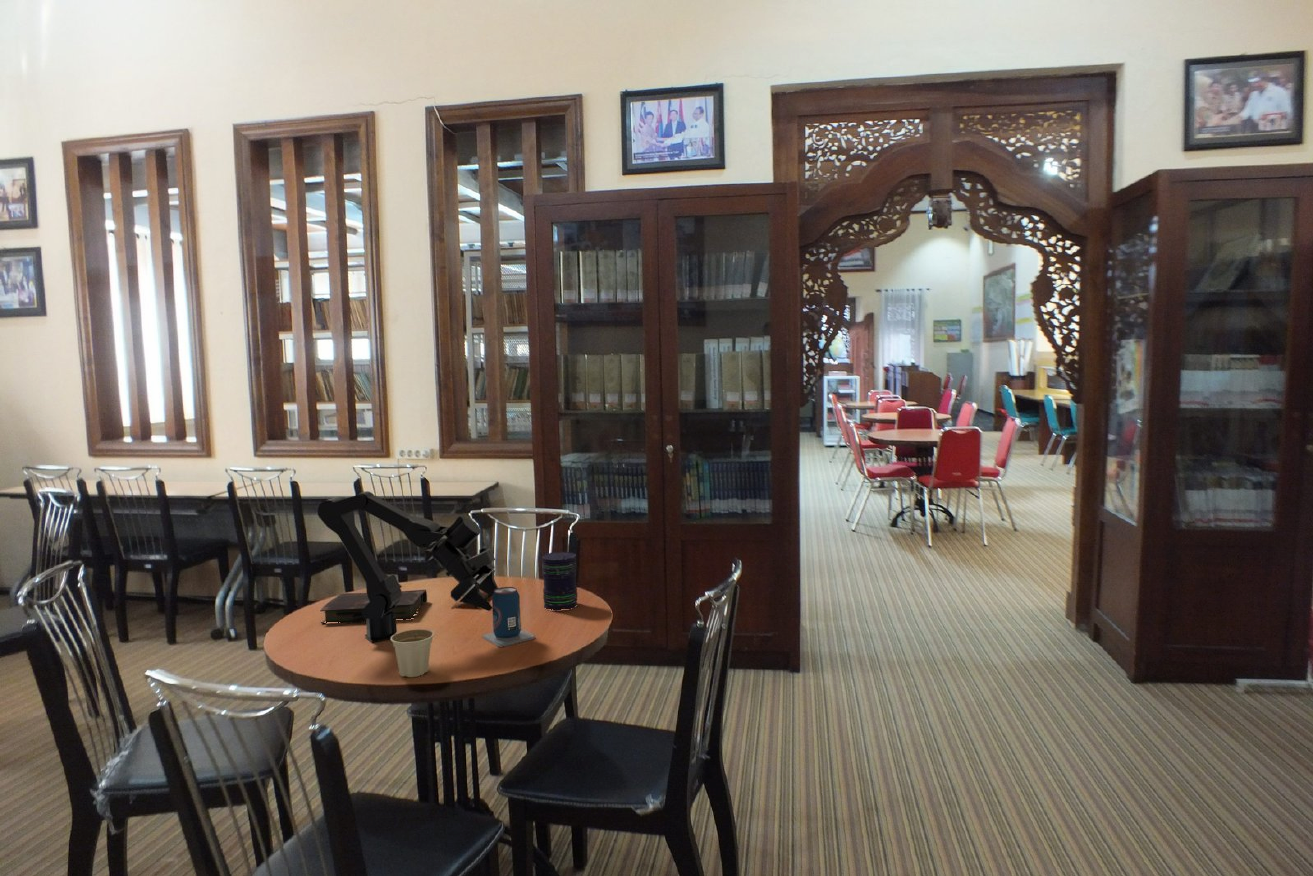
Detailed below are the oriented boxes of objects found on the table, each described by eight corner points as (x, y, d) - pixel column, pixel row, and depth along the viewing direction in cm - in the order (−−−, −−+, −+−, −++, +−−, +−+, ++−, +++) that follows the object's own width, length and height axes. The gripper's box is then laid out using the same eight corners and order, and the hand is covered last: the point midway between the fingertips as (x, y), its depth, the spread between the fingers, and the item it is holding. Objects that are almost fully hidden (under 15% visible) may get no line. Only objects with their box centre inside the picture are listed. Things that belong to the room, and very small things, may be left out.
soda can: (489, 635, 196) (487, 589, 195) (515, 629, 200) (513, 584, 199) (499, 642, 190) (497, 595, 190) (525, 636, 194) (523, 590, 193)
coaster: (499, 647, 188) (499, 645, 188) (482, 637, 196) (482, 635, 196) (535, 638, 194) (535, 636, 194) (517, 628, 202) (517, 626, 202)
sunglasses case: (468, 591, 240) (478, 573, 239) (488, 602, 240) (498, 584, 239) (450, 608, 222) (460, 589, 221) (471, 620, 222) (481, 601, 221)
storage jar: (537, 606, 222) (535, 555, 221) (565, 599, 229) (563, 550, 228) (555, 613, 215) (553, 561, 214) (584, 606, 221) (582, 555, 220)
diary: (342, 608, 229) (341, 591, 228) (427, 604, 230) (426, 587, 230) (319, 627, 210) (318, 609, 210) (412, 622, 212) (411, 604, 212)
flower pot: (420, 662, 180) (418, 626, 180) (444, 670, 174) (442, 633, 174) (384, 674, 173) (382, 637, 172) (407, 684, 167) (405, 645, 166)
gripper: (461, 547, 185) (507, 593, 185) (486, 531, 203) (527, 573, 203) (431, 578, 186) (476, 624, 186) (458, 560, 205) (499, 601, 205)
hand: (496, 604), depth 195 cm, fingers open, 9 cm apart
